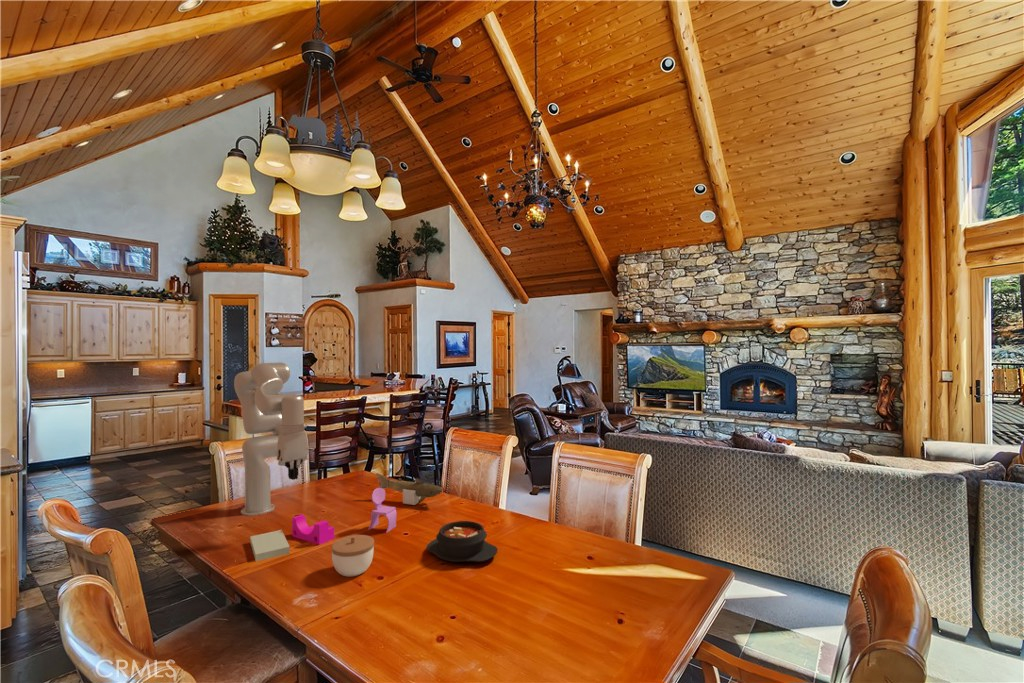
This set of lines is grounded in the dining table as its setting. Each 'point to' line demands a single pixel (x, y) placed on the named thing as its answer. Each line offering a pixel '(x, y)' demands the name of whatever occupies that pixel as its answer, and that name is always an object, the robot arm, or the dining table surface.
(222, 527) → the dining table surface
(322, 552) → the dining table surface
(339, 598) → the dining table surface
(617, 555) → the dining table surface
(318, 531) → the toy block
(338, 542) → the lidded bowl
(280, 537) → the base slab
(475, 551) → the casserole
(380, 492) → the toy chair
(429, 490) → the wood carving
